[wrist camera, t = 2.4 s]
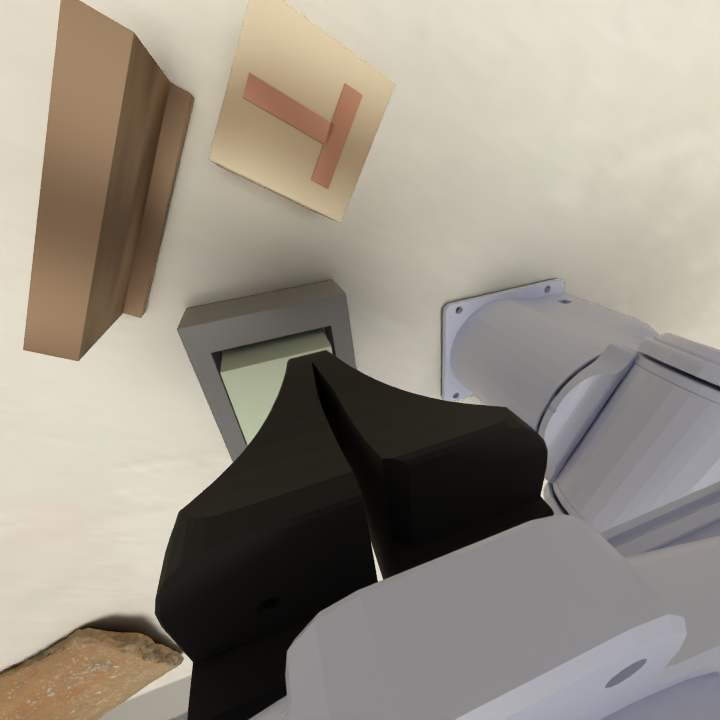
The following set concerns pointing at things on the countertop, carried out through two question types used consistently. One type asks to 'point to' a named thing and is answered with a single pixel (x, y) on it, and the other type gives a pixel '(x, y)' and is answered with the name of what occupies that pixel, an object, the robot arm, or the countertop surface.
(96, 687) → the stone
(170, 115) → the screen
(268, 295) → the button panel
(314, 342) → the cap sage
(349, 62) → the cube
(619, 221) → the countertop surface
